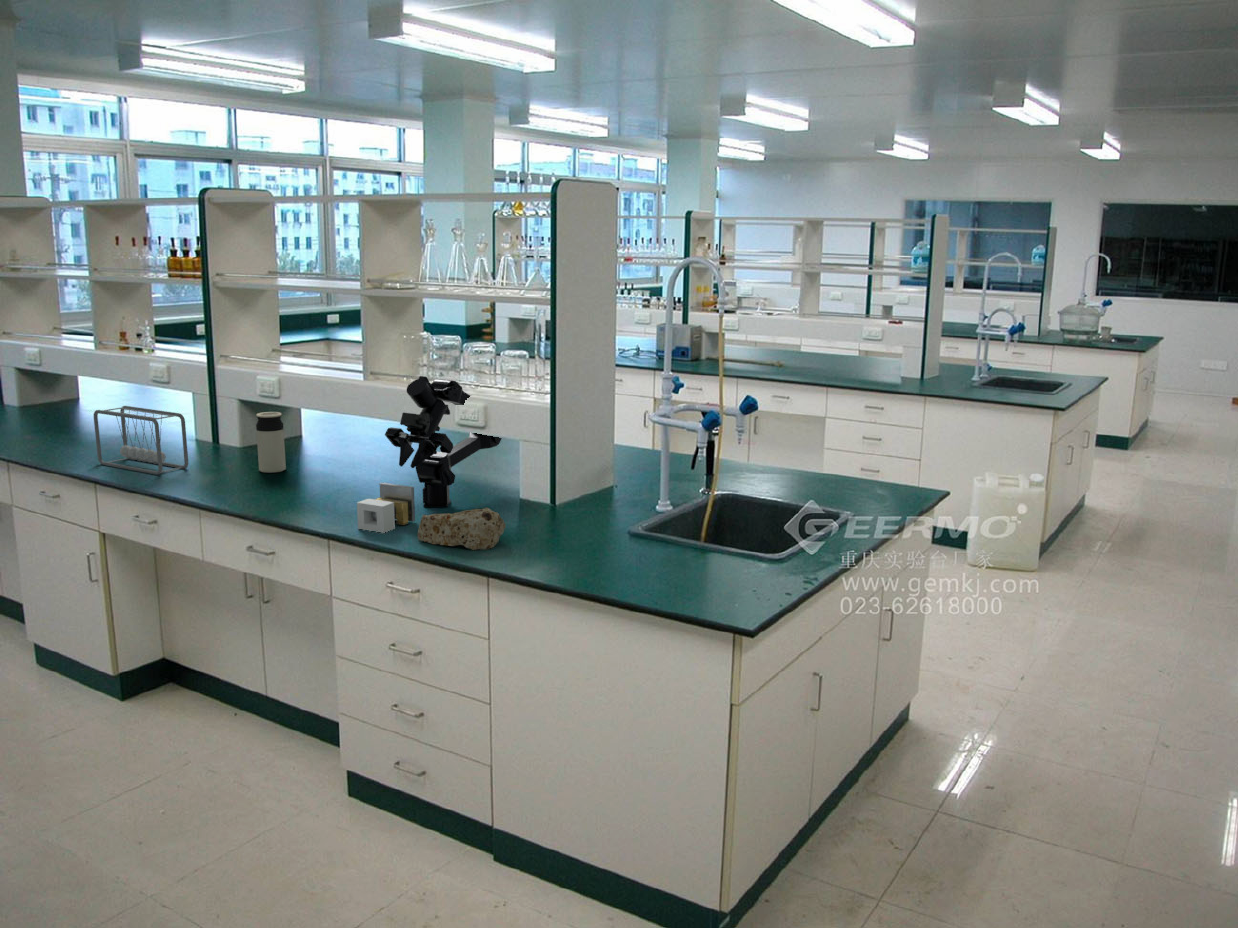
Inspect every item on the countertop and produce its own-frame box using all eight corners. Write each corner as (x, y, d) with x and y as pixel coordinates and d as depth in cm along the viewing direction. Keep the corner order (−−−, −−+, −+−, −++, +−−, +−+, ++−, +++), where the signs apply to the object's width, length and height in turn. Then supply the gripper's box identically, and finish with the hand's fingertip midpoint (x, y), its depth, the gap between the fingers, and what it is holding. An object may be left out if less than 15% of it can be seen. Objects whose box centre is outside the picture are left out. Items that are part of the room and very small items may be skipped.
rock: (409, 547, 241) (410, 506, 242) (444, 545, 255) (445, 506, 255) (481, 550, 233) (482, 508, 233) (514, 548, 246) (514, 508, 246)
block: (369, 524, 256) (368, 498, 255) (394, 528, 253) (393, 502, 251) (358, 529, 252) (356, 502, 251) (383, 533, 249) (382, 506, 247)
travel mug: (291, 469, 314) (288, 413, 310) (270, 474, 307) (266, 417, 303) (274, 466, 318) (271, 410, 314) (253, 471, 312) (249, 414, 308)
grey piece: (383, 515, 263) (382, 482, 261) (415, 520, 259) (414, 487, 257) (360, 524, 254) (359, 490, 252) (392, 529, 250) (391, 495, 248)
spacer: (380, 518, 261) (379, 497, 259) (408, 523, 257) (407, 501, 256) (375, 520, 259) (374, 499, 258) (403, 525, 255) (402, 503, 254)
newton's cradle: (189, 469, 312) (185, 413, 309) (160, 476, 303) (155, 418, 300) (127, 458, 326) (122, 404, 322) (97, 464, 317) (91, 409, 313)
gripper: (387, 397, 266) (362, 445, 259) (445, 403, 259) (421, 453, 251) (406, 422, 275) (382, 469, 268) (463, 428, 267) (440, 476, 260)
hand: (406, 466), depth 261 cm, fingers open, 3 cm apart
